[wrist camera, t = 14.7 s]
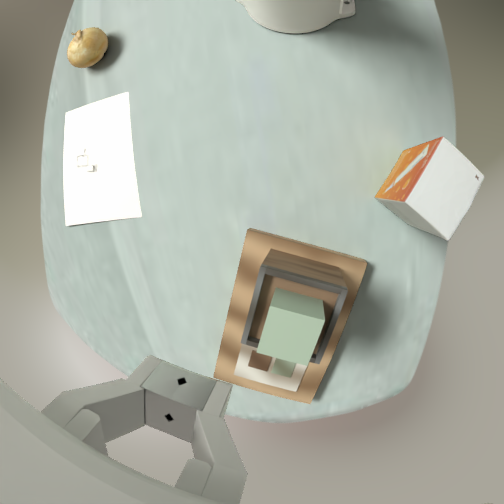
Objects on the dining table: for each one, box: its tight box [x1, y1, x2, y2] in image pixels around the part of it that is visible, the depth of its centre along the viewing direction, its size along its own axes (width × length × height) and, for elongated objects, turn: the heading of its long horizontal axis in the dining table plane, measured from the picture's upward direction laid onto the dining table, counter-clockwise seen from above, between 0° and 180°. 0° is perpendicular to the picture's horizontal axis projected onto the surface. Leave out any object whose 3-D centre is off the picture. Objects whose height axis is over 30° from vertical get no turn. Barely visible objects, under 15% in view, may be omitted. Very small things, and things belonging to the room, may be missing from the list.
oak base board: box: [214, 228, 367, 404], centre depth 36 cm, size 24×16×11 cm, turn 167°
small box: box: [375, 137, 484, 241], centre depth 28 cm, size 8×6×13 cm
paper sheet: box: [63, 92, 142, 226], centre depth 41 cm, size 24×29×1 cm
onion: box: [67, 27, 108, 68], centre depth 34 cm, size 8×8×7 cm
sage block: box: [257, 287, 325, 366], centre depth 28 cm, size 5×5×5 cm
